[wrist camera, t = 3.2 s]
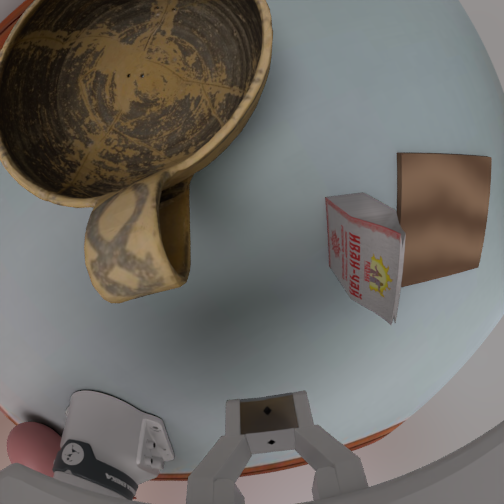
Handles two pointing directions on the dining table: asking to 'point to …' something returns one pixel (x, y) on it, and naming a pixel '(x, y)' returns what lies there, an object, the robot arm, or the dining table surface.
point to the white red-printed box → (366, 251)
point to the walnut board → (441, 212)
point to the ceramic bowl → (129, 119)
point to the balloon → (34, 446)
